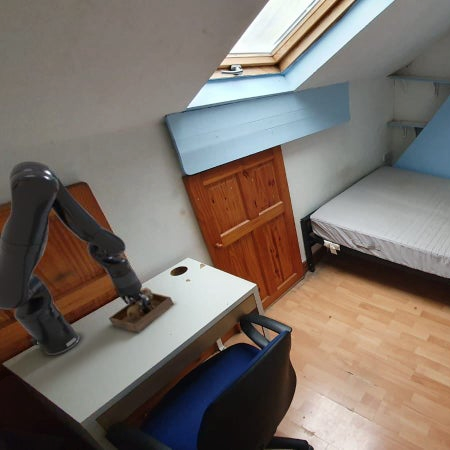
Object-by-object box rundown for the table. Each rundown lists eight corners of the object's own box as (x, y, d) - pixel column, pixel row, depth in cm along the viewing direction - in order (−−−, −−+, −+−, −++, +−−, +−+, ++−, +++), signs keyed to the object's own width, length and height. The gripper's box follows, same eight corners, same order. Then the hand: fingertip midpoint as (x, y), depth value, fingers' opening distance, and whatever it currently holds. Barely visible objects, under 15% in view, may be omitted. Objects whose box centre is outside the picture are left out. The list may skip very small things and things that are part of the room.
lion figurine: (148, 300, 136) (139, 285, 131) (160, 300, 136) (153, 285, 132) (124, 327, 123) (115, 311, 119) (138, 327, 124) (129, 311, 119)
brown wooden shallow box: (113, 325, 125) (108, 318, 123) (150, 298, 138) (146, 291, 136) (139, 332, 122) (134, 325, 120) (173, 304, 136) (170, 297, 133)
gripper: (149, 278, 123) (164, 308, 132) (121, 272, 125) (138, 302, 134) (131, 290, 116) (148, 321, 125) (101, 284, 119) (121, 314, 128)
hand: (143, 311), depth 130 cm, fingers closed on lion figurine, 4 cm apart
